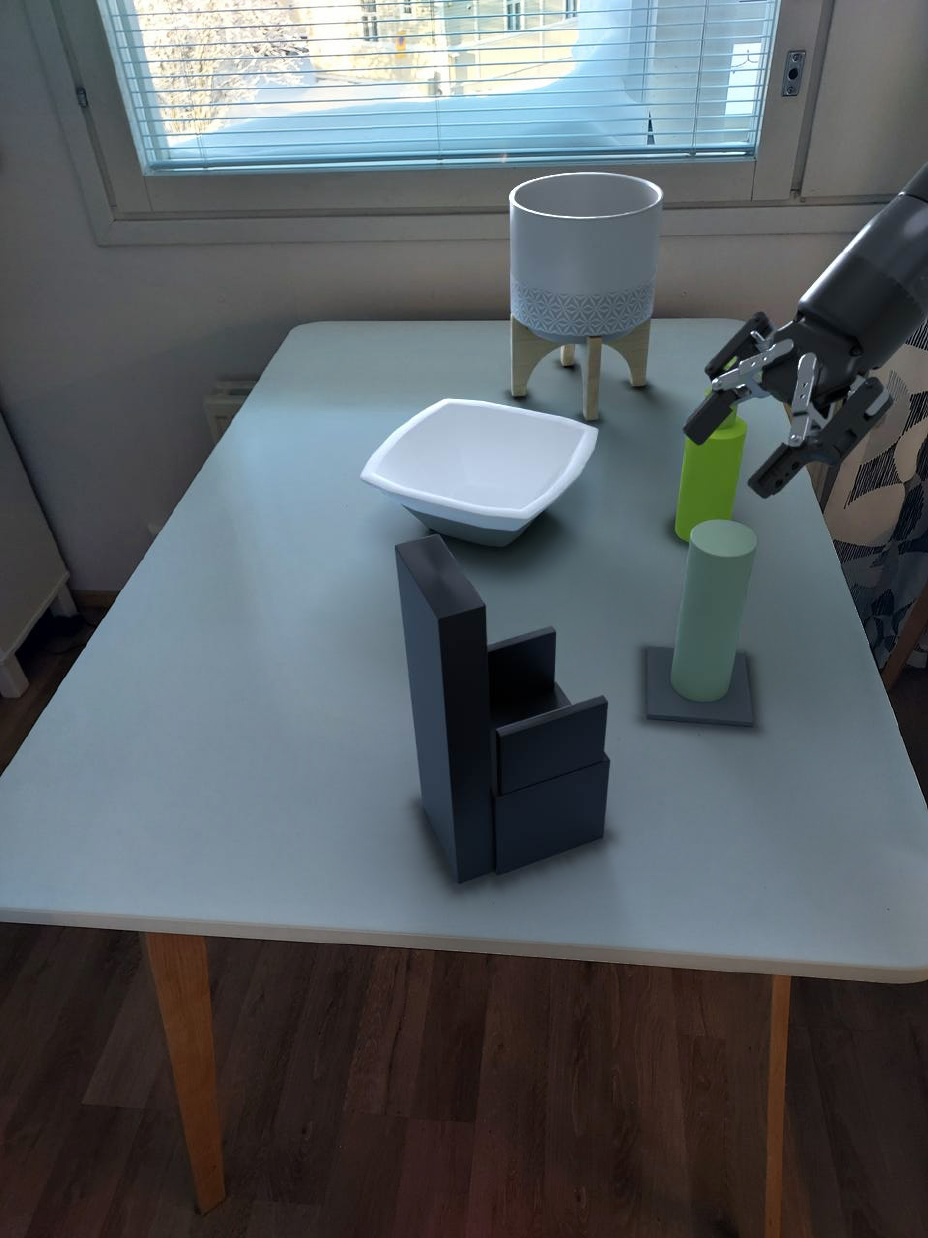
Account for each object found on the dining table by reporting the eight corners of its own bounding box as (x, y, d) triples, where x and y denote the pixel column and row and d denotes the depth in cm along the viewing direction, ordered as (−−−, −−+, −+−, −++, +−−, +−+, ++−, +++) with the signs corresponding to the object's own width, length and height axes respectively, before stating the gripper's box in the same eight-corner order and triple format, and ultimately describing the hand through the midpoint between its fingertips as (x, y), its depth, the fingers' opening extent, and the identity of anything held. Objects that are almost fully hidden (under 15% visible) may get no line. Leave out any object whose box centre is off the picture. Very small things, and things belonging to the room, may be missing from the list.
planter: (503, 365, 138) (500, 177, 121) (628, 355, 139) (642, 167, 122) (521, 426, 123) (521, 223, 107) (661, 414, 124) (682, 210, 108)
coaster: (752, 726, 81) (753, 722, 80) (647, 718, 82) (647, 714, 81) (744, 657, 87) (744, 652, 87) (646, 650, 89) (647, 646, 88)
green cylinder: (730, 704, 82) (760, 558, 72) (670, 700, 83) (691, 554, 72) (726, 664, 86) (754, 520, 76) (669, 661, 87) (689, 517, 76)
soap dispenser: (727, 554, 100) (757, 381, 87) (666, 536, 103) (687, 366, 90) (745, 526, 104) (776, 357, 91) (686, 510, 106) (708, 343, 94)
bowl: (536, 595, 96) (537, 527, 90) (349, 543, 104) (340, 478, 99) (611, 489, 110) (616, 426, 105) (442, 451, 119) (438, 390, 114)
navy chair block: (553, 756, 79) (561, 497, 62) (603, 837, 72) (627, 570, 56) (420, 801, 76) (391, 540, 59) (460, 889, 69) (440, 624, 53)
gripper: (981, 352, 62) (803, 535, 66) (840, 282, 72) (695, 445, 77) (940, 286, 57) (752, 488, 62) (796, 222, 67) (644, 399, 72)
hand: (720, 464), depth 69 cm, fingers open, 8 cm apart
